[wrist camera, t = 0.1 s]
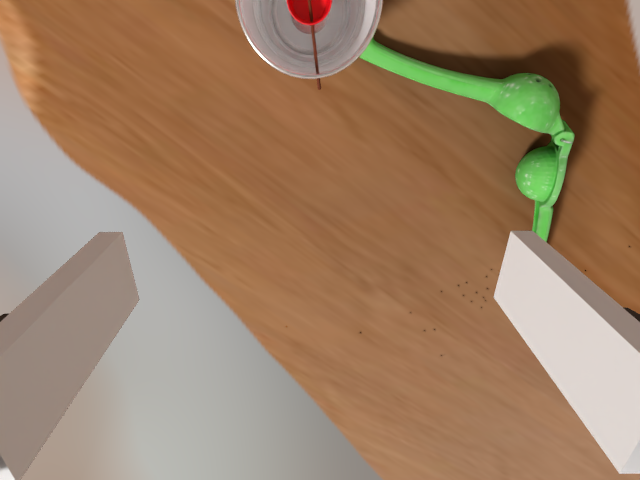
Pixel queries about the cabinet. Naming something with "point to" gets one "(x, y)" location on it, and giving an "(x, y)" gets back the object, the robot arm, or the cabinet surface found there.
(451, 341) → the cabinet surface
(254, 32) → the striped cup with float
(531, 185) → the lime squeezer
